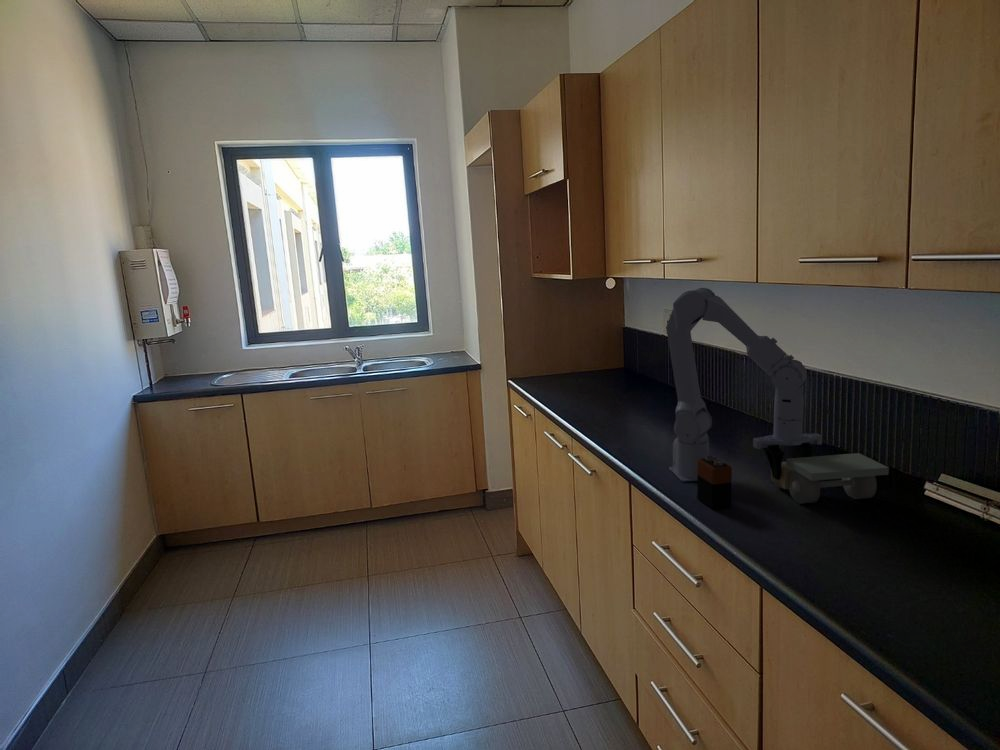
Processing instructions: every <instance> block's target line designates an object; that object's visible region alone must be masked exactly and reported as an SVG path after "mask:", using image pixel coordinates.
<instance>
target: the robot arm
mask: <svg viewBox="0 0 1000 750" xmlns="http://www.w3.org/2000/svg"><path fill="white" fill-rule="evenodd" d="M700 320H702V321H707V322H714V323H718V324H719V325H721V326H722V327H723V328H724V329H726V331H728V332H729V333H730V334H731V335H732V336H734V337H735V338H736V339H737V340H738V341H740V342H741V344H743V345H744V346H745V348H746V355H747V356H748V357H749V358H750V359H751V360H752V361H753V362H754V363H755V364H757V366H758V367H759V368H760V369H761V370H763V371H764V372H765V373H766V374H767V375H768V376H771V381H772V384H773V386H774V388H775V395H774V401H773V402H774V403H773V404H774V405H773V406H774V407H773V408H774V409H773V432H772V433H773V434H770V435H765V436H760V437H753V439H752V447H753V448H754V449H756V450H763V451H764V454H765V456H766V457H767V461H768V463H769V466H770V471H771V470H772V475H773V477H774V478H775V479H777V480H780V477H781V464H782V462H783V459H784V455H785V452H784V451H783V450H781V448H780V447H790V450H791V457H792V458H802V457H811V455H812V454H813V453H814V447H812V446H811V445H818V446H819V445H820V446H821V445H823V435H821V434H819V433H803V431H804V430H803V426H804V425H803V424H804V404H805V402H804V401H805V398H804V397H805V396H804V384H803V383H805V381H806V378H807V376H808V374H807V369H806V367H805V366H804V364H803V363H802V361H800V360H798V359H797V360H796V359H795V357H794V356H793V355H792V354H790V355H789V354H787V353H786V352H785V350H783V349H782V348H781V347H780V346H779V345H778V344H777V343H778V340H777V339H776V338H774V337H772V338H770V337H769V336H768V335H758V334H757V333H756V332H755V331H754V330H753V328H751V327H750V326H749V325H748V324H747V323H746V322H745V321H744V320H743V319H742V318H741V317H740V316H739V315H738V314H737V313H736V312H735V311H734V310H733V308H731V306H729V305H728V304H727V303H726V301H724V299H722V297H720V296H719V295H716V294H715V292H713V291H712V289H710V288H707V287H700V288H697V289H693V290H687V291H684V292H683V293H682V294H681V295H680V296H678V298H676V299H675V300H674V302H673V303H672V311H671V313H670V315H669V319H668V321H667V324H666V329H665V330H666V335H667V341H668V347H669V348H668V349H669V352H670V353H669V354H670V359H671V366H672V373H673V379H674V385H675V390H676V397H677V404H676V407H675V412H674V413H675V421H674V424H673V431H674V434H675V436H676V438H675V439H674V441H673V443H672V466H669V467H668V469H669V471H671V472H672V473H673V474H674V475H675V476H676V477H677V478H678V479H679V480H680V481H681V482H682V483H683V482H697V476H698V459H705V458H706V456H708V455H710V436H709V435H708V431H709V430H711V428H712V426H713V425H712V424H713V420H712V419H713V417H712V416H711V414H710V412H709V411H708V409H707V405H706V402H705V401H704V399H703V398H702V396H701V389H700V385H699V382H700V381H699V375H698V370H697V364H696V359H695V353H694V345H693V339H692V332H691V331H692V330H693V329H694V328H695V326H697V324H698V323H699V322H700Z"/></svg>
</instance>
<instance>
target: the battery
mask: <svg viewBox="0 0 1000 750" xmlns="http://www.w3.org/2000/svg"><path fill="white" fill-rule="evenodd" d="M732 472H733V467H732V465H730V464H728V463H726V462H724V459H719V458H717V457H715V456H713V455H710V454H709V455H708V456H706V458H705V459H698V476H697V481H696V482H697V485H696V486H697V487H696V488H697V491H696V493H697V494H696V497H697V499H698V500H699V501H700V502H702V503H703V504H704V503H705V505H706V506H707V507H709V508H710V509H711V508H712V510H713V509H716V510H721V509H722V508H723V509H728V508H729V507H730V508H732V481H733V480H732V479H733V477H732V476H733V475H732V474H733V473H732Z"/></svg>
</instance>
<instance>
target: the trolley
mask: <svg viewBox="0 0 1000 750" xmlns="http://www.w3.org/2000/svg"><path fill="white" fill-rule="evenodd" d="M786 462H787V463H786V465H787V466H788V467H790V468H791V469H793V470H792V471H791V472H790V474H789V477H788V487H789V489H788V490H789V491H788V492H789V495H790V496H791V498H792V499H793V501H794V502H795V503H797V504H800V505H801V504H803V505H804V504H814V503H817V502H818V501H819V499H820V496H821V488H834V487H835V488H836V487H843V489H844V492H845V493H846V494H847V496H848V497H849V496H850V497H852V498H853V500H863V499H871V498H873V497H874V496H875V494H876V493H877V486H878V485H877V484H878V483H877V479H876V477H877V476H888V475H889V473H890V472H889V471H890V467H889V466H887V465H885V464H882V463H880V462H878V461H876V460H874V459H872V458H870V457H869V456H866V455H863V454H862V453H859V452H857V453H856V452H855V453H844V454H831V455H829V454H828V455H815V456H809V457H802V458H791V457H790V458H786ZM825 480H826V481H825ZM828 480H829V481H828ZM850 497H849V498H850ZM852 498H851V499H852Z"/></svg>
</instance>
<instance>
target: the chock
mask: <svg viewBox="0 0 1000 750" xmlns="http://www.w3.org/2000/svg"><path fill="white" fill-rule="evenodd" d="M786 463H787V461H782V464H781V477H780V480H777V479H775V478H774V477H773V475H772V470H771V469H770V480H771V481H772V482H773V483H774V484H776V485H778V486H779V487H781V488H782V489H783V490H789V487H788V477H789V474H790V472H791V471H792V470H793V469H791V468H790V467H788V466H787V465H786Z"/></svg>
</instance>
